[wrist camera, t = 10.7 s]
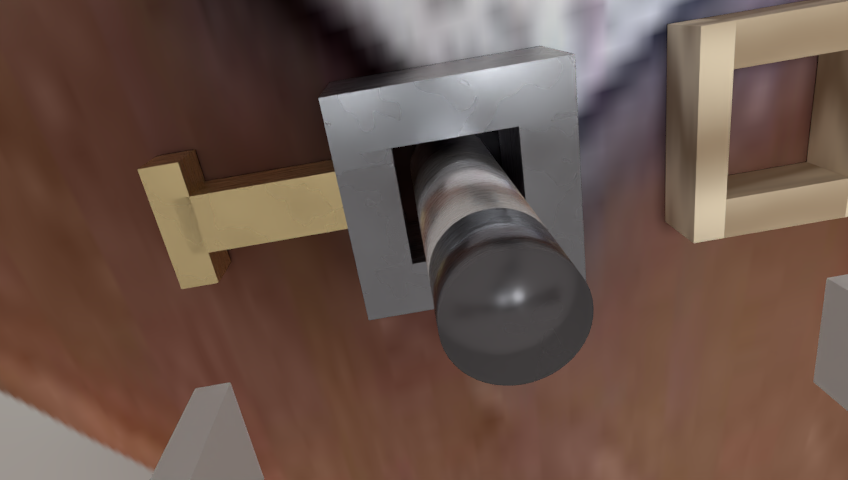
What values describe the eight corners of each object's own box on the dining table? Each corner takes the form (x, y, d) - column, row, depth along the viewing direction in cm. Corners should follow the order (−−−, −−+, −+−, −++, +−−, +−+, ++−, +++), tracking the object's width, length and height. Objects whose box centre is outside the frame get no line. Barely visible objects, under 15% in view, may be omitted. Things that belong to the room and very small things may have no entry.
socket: (329, 82, 26) (318, 98, 22) (540, 45, 26) (574, 53, 22) (370, 272, 30) (368, 320, 25) (554, 240, 30) (586, 282, 25)
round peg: (403, 134, 27) (426, 264, 14) (484, 120, 27) (590, 235, 14) (417, 210, 29) (449, 397, 15) (493, 197, 29) (596, 371, 15)
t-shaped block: (157, 156, 27) (137, 169, 25) (384, 117, 27) (385, 126, 25) (196, 267, 29) (181, 289, 27) (405, 231, 29) (407, 249, 27)
